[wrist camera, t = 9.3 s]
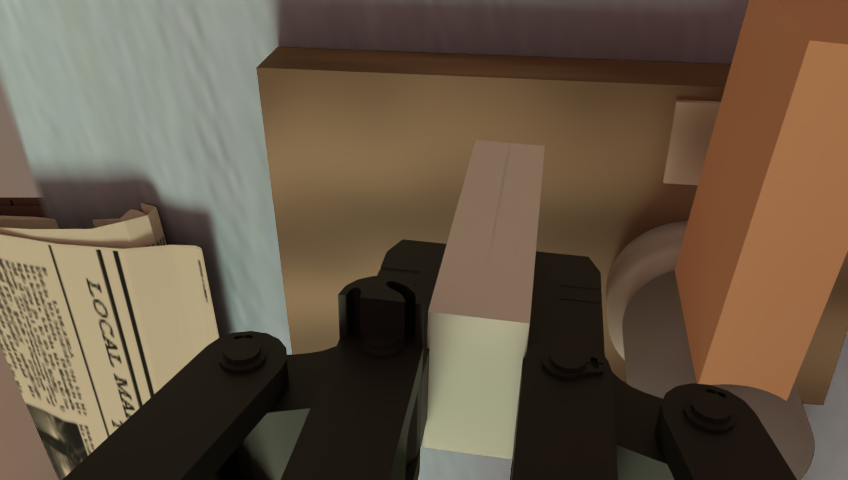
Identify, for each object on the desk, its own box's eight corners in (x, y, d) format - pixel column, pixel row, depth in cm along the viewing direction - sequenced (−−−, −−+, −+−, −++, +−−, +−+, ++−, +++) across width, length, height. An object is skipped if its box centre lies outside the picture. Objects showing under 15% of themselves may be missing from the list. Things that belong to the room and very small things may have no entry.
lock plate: (808, 366, 34) (837, 441, 30) (307, 321, 37) (277, 384, 33) (897, 70, 27) (948, 120, 24) (277, 47, 30) (236, 87, 27)
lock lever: (610, 369, 30) (617, 494, 25) (707, -30, 22) (746, 33, 17) (747, 390, 29) (784, 522, 24) (895, -10, 22) (993, 60, 17)
